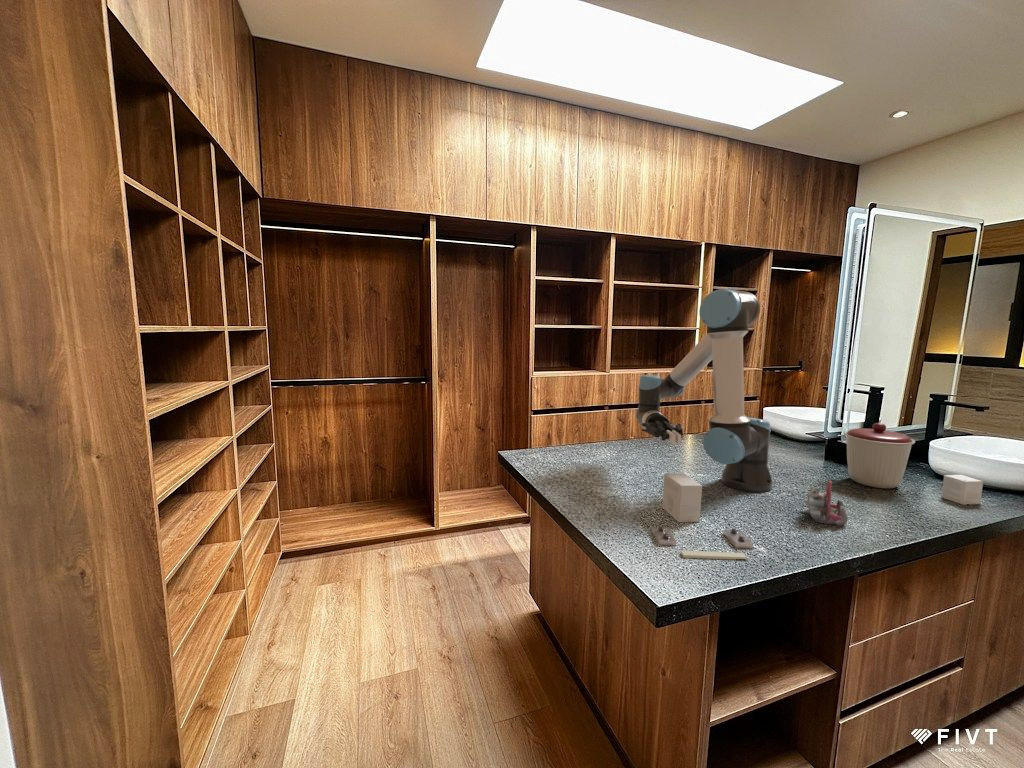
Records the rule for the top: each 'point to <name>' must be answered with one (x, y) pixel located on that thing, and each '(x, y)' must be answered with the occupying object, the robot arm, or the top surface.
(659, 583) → the top surface
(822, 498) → the grey red lumpy piece
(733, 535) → the block
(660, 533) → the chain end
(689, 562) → the top surface
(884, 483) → the canister
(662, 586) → the top surface
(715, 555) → the cream long thin bar
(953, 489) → the skincare box
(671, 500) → the skincare box
